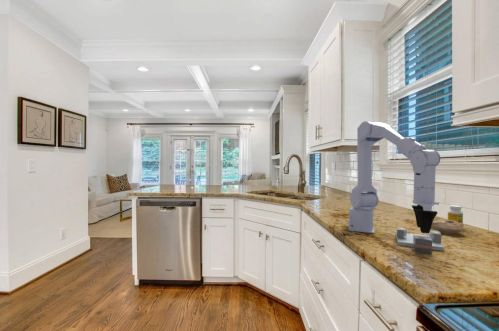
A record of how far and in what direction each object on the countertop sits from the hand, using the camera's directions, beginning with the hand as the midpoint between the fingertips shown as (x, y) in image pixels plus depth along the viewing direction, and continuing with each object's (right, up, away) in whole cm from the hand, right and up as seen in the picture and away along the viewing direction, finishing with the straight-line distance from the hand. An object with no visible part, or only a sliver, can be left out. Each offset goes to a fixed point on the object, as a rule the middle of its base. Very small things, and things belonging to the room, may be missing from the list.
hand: (423, 230), depth 88 cm
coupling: (0, -7, 0) cm, 7 cm away
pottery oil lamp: (+24, -7, +24) cm, 34 cm away
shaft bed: (+4, -7, +10) cm, 13 cm away
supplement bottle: (+34, -7, +32) cm, 48 cm away
